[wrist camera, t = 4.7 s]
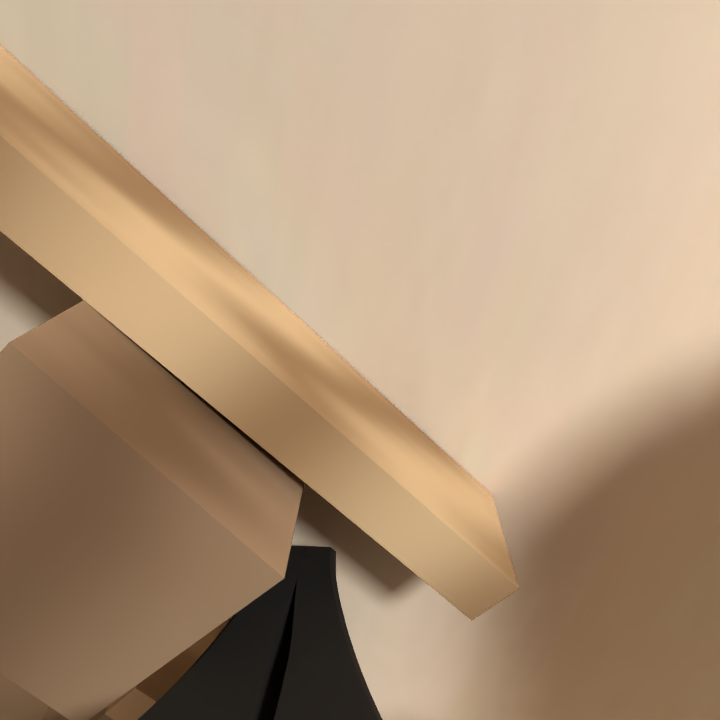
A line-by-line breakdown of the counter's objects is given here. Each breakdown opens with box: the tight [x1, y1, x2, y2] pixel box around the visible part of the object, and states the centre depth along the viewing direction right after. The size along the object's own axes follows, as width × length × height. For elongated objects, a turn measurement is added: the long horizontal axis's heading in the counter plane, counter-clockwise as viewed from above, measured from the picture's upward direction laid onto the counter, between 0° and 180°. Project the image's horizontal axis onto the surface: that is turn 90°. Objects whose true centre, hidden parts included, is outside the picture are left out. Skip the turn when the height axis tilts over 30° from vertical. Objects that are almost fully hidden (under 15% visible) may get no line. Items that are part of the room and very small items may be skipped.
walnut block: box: [0, 300, 304, 720], centre depth 11 cm, size 5×5×5 cm
